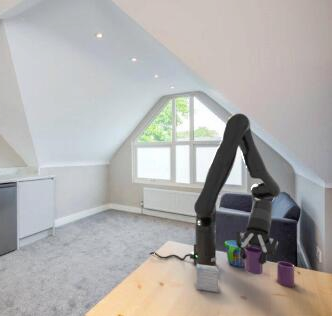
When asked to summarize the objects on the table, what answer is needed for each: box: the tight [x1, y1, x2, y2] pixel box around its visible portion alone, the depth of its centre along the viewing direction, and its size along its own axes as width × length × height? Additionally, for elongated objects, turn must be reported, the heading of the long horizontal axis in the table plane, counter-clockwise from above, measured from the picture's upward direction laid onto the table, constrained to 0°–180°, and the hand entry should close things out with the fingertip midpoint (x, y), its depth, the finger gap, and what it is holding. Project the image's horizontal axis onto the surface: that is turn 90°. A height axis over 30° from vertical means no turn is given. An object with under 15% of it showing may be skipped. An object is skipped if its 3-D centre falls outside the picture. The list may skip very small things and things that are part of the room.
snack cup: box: [224, 239, 245, 268], centre depth 122 cm, size 16×10×10 cm
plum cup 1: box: [244, 246, 264, 275], centre depth 92 cm, size 6×6×8 cm
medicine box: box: [195, 264, 219, 293], centre depth 100 cm, size 8×4×9 cm, turn 71°
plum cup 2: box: [276, 261, 295, 288], centre depth 103 cm, size 6×6×8 cm
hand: (252, 260), depth 91 cm, fingers closed on plum cup 1, 5 cm apart
